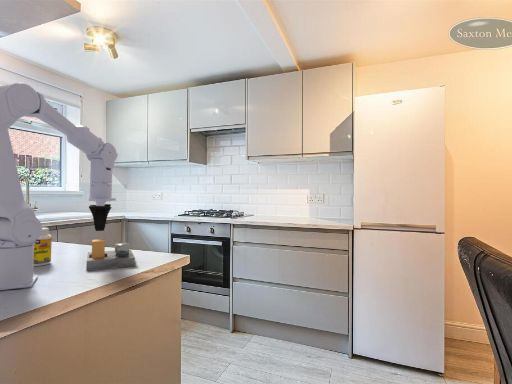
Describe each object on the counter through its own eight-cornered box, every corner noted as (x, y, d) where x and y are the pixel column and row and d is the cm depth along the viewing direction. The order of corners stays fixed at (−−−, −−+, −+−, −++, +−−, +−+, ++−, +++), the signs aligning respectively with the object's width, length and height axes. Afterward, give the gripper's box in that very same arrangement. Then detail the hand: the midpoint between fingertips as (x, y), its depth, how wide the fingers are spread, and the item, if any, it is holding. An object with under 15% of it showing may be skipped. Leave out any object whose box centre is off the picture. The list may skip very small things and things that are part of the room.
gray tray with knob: (86, 270, 77) (86, 249, 77) (87, 260, 88) (88, 242, 88) (134, 266, 83) (135, 247, 83) (130, 257, 94) (131, 240, 94)
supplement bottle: (25, 267, 78) (26, 230, 78) (27, 263, 83) (28, 227, 83) (50, 265, 81) (51, 229, 81) (51, 261, 86) (52, 226, 86)
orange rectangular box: (91, 266, 82) (92, 241, 82) (91, 263, 85) (92, 239, 85) (104, 265, 83) (104, 241, 83) (104, 262, 86) (104, 239, 86)
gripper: (117, 183, 81) (115, 231, 81) (115, 183, 94) (114, 225, 94) (88, 182, 78) (86, 232, 78) (90, 183, 91) (89, 226, 91)
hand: (99, 229), depth 86 cm, fingers open, 7 cm apart
